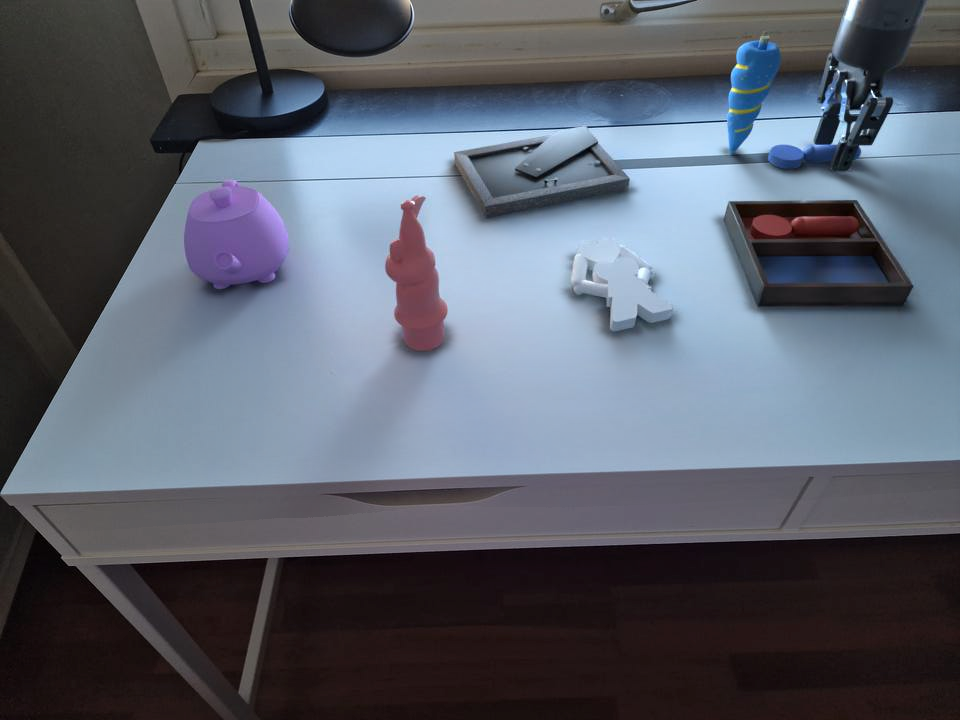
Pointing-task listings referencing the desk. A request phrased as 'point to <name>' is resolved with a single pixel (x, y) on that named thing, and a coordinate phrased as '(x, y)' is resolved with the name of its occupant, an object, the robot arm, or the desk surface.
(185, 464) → the desk surface
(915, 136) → the desk surface
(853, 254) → the cutlery tray
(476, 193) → the picture frame
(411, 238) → the figurine
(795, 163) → the blue spoon
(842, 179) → the desk surface
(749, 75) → the ornament
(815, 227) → the red spoon
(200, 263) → the teapot
